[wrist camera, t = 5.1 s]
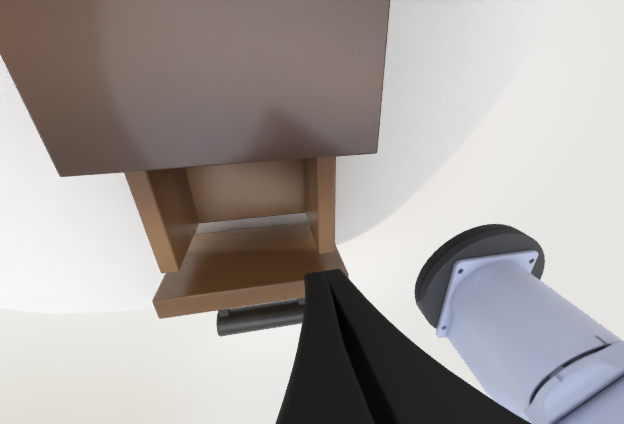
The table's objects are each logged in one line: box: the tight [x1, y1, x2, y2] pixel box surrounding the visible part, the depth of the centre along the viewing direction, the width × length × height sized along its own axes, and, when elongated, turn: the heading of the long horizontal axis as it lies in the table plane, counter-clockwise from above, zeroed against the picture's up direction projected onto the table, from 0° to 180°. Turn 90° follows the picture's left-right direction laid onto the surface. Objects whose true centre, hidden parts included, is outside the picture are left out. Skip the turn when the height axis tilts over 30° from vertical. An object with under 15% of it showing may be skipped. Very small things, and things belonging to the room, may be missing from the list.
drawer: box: [124, 156, 348, 336], centre depth 14 cm, size 16×9×6 cm, turn 1°
